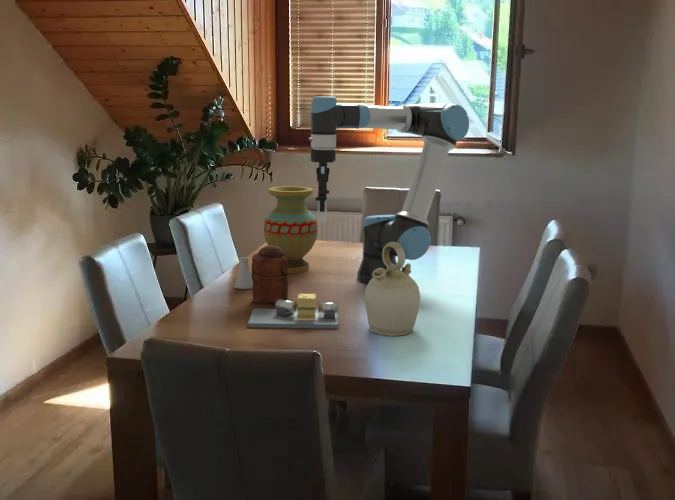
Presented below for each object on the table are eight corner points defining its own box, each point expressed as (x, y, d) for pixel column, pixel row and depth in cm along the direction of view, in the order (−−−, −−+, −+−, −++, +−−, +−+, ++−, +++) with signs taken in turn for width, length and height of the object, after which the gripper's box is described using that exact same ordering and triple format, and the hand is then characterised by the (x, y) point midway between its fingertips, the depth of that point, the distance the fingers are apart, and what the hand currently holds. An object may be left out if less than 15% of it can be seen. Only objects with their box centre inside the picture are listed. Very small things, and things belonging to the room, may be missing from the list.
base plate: (337, 313, 216) (337, 309, 216) (337, 328, 202) (337, 324, 202) (253, 312, 216) (253, 308, 215) (248, 327, 202) (248, 322, 202)
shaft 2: (318, 318, 207) (318, 304, 206) (318, 314, 211) (318, 300, 210) (337, 319, 207) (337, 305, 206) (337, 314, 211) (337, 300, 210)
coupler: (298, 313, 211) (298, 293, 210) (315, 313, 211) (315, 293, 210) (297, 318, 206) (297, 298, 205) (315, 319, 206) (315, 298, 205)
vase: (308, 261, 283) (309, 185, 277) (323, 273, 264) (325, 191, 258) (258, 264, 277) (258, 186, 270) (270, 276, 258) (270, 193, 252)
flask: (251, 290, 240) (251, 261, 238) (230, 289, 241) (230, 259, 239) (258, 285, 247) (258, 256, 245) (237, 283, 248) (237, 255, 246)
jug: (379, 341, 193) (382, 249, 187) (354, 324, 206) (356, 238, 201) (429, 334, 199) (433, 245, 193) (402, 318, 212) (405, 235, 207)
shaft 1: (298, 314, 211) (298, 300, 210) (290, 318, 207) (290, 304, 206) (282, 311, 213) (282, 297, 212) (274, 315, 210) (274, 301, 209)
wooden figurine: (290, 299, 230) (290, 244, 226) (286, 305, 224) (287, 248, 220) (253, 297, 231) (253, 242, 227) (249, 303, 225) (248, 246, 221)
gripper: (311, 145, 230) (311, 211, 234) (309, 151, 205) (308, 225, 210) (335, 146, 230) (334, 212, 234) (335, 152, 205) (334, 225, 210)
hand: (322, 218), depth 222 cm, fingers open, 13 cm apart
